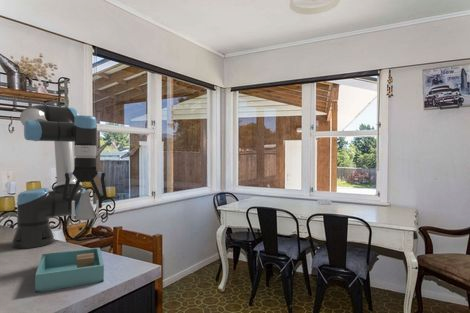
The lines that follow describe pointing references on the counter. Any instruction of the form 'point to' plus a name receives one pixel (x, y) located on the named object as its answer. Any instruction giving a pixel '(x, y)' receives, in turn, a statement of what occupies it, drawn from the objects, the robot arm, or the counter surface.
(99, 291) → the counter surface
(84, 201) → the flask
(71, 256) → the tote
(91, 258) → the walnut cube
